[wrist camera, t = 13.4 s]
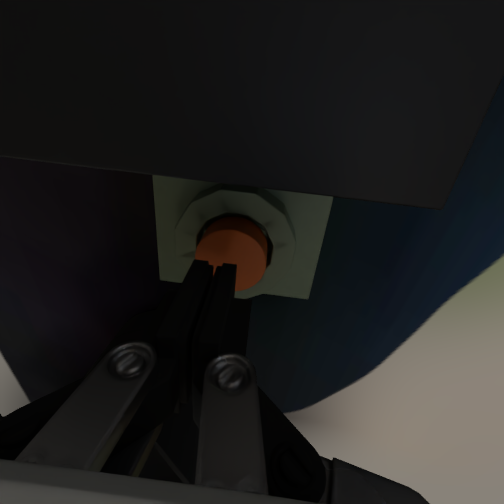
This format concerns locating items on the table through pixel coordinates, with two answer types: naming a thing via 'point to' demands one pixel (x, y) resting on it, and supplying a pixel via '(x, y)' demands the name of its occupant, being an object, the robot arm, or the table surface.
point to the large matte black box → (254, 90)
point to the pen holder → (165, 424)
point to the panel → (251, 208)
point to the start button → (235, 249)
